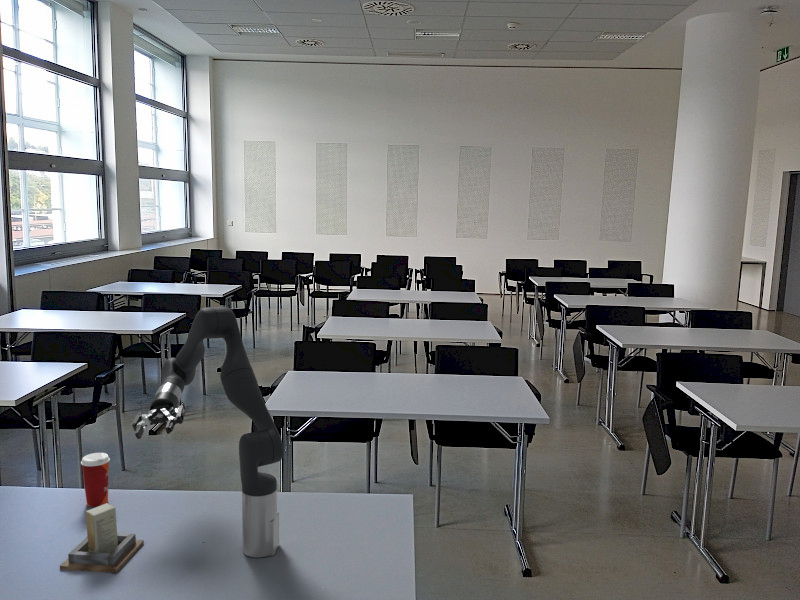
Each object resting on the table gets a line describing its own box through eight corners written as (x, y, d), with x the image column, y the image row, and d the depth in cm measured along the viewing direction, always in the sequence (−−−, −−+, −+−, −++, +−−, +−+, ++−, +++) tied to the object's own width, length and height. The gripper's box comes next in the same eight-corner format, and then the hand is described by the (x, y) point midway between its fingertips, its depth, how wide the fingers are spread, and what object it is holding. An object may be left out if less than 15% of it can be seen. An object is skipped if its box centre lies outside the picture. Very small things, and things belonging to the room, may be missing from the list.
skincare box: (110, 544, 180) (108, 502, 179) (118, 550, 178) (116, 506, 176) (86, 554, 175) (84, 510, 174) (95, 559, 173) (93, 515, 171)
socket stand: (143, 543, 184) (143, 531, 183) (116, 573, 169) (116, 560, 168) (91, 540, 185) (90, 528, 184) (59, 569, 170) (59, 556, 169)
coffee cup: (116, 502, 208) (114, 456, 206) (89, 511, 202) (87, 464, 200) (104, 494, 213) (102, 449, 211) (78, 502, 207) (75, 456, 205)
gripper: (139, 394, 201) (123, 427, 187) (185, 386, 201) (173, 419, 187) (147, 414, 205) (132, 448, 190) (193, 406, 205) (181, 440, 190)
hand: (152, 434), depth 188 cm, fingers open, 8 cm apart
